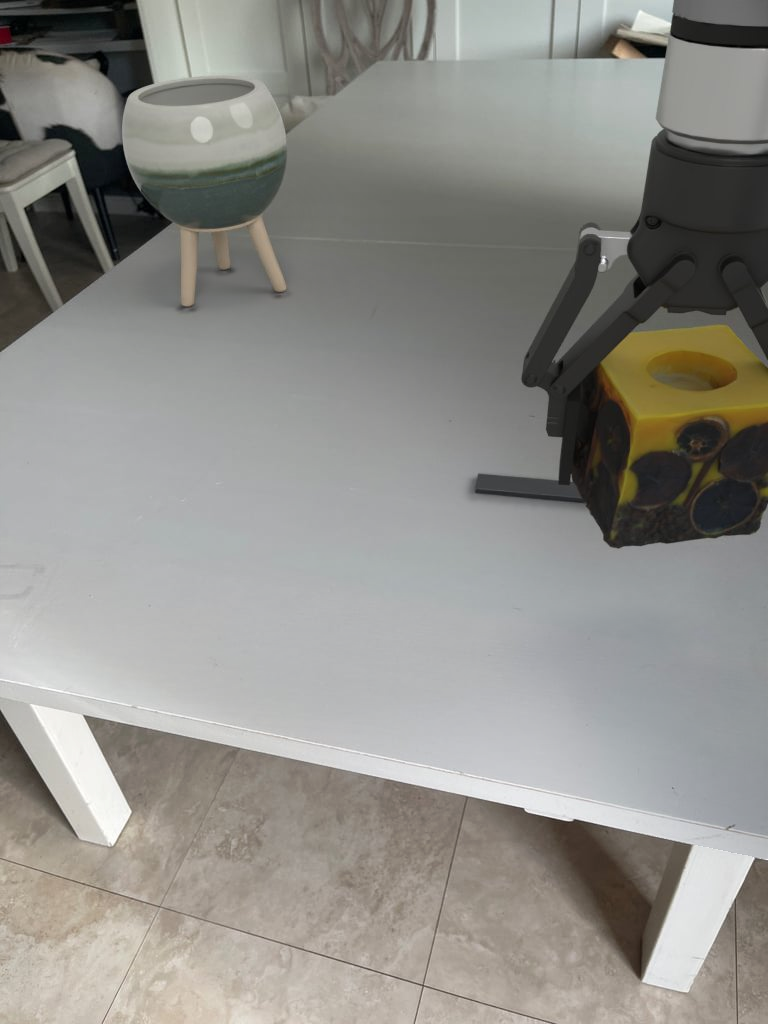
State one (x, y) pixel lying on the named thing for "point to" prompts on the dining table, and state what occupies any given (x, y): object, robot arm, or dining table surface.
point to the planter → (208, 162)
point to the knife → (527, 488)
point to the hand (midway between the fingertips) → (657, 481)
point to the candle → (674, 438)
